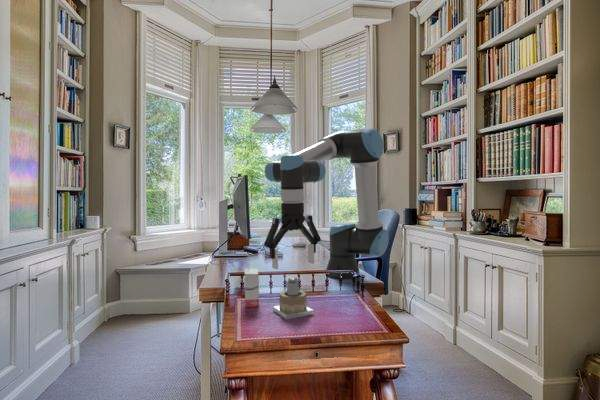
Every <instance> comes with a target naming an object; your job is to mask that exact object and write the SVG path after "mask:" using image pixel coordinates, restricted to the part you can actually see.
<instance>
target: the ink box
mask: <svg viewBox="0 0 600 400" xmlns="http://www.w3.org/2000/svg"><path fill="white" fill-rule="evenodd" d="M259 284H260V279H259V268H245V269H244V305H245V308H257V307H258V306H259V307H260V305H259V303H260V302H259V301H260V300H259V299H260V290H259V289H260V287H259V286H260V285H259Z"/></svg>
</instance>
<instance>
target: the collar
mask: <svg viewBox="0 0 600 400" xmlns="http://www.w3.org/2000/svg"><path fill="white" fill-rule="evenodd" d="M307 296H308V295H307V292H305V291H303V290H300V289H299V296H287V290H282V291H281V292H280V293H279V299H278V300H279V301H278V302H279V305H280V309H281V310H282V311H284V312H292V313H296V312H301V311H304V310H305V309H306V308H307V307H308V306H307V304H308V303H307V301H308V299H307ZM279 305H278V306H279Z"/></svg>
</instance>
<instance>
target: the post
mask: <svg viewBox="0 0 600 400" xmlns="http://www.w3.org/2000/svg"><path fill="white" fill-rule="evenodd" d="M299 290H300V281H299V280H298V278H297V277H289V278H288V279H287V281H286V291H287V296H299ZM272 311H273V312H274V313H275V314H277V315H278V316H280V317H282V318H283V319H285V321H287V320H292V319H297V318H302V317H303V318H304V317H308V316H313V315H315V314H314V313H315V312H314V309H313V308H310V307H308V306H307V308H306V309H305V310H304V311H301V312H296V313H292V312H284V311H282V310H281V309H280V305H275V306H272Z"/></svg>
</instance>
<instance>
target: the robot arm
mask: <svg viewBox="0 0 600 400" xmlns="http://www.w3.org/2000/svg"><path fill="white" fill-rule="evenodd" d="M383 154H384V140H383V137H382V135H381V133H380V132H379V131H378V130H377V129H375V128H361V129H358V128H357V129H344V130H339V131H336V132H334V133H332V134H328V135H327V136H325V137H322V138H321V139H319V141H318V142H317V143H316V144H313V145H311V146H309V147H307V148H304V149H303V150H301V151H299V152H295V153H294V154H283V155H282V156H281V157H280V160H273V161H269V162H267V163H266V165H265V167H264V174H265V175H264V176H265V178H266V179H267V181H269V182H276V183H280V201H281V203H280V213H281V217H280V218H277V217H273V218H272V223H271V225H270V228H269V231H268V234H267V236H266V239H265V240H264V243H263V247H265V248H267V249H269V258H270V259H271V261H272V263H271V264H272V265H271V266H272V268H273V269H275V270H279V255H278V252H279V251H278V248H277V246H278V245H279V244H280V242H281V240H282V239H283V238H284V236H285V235H286V234H287V233H288V232H291V231H292V232H293V231H298V230H299V231H300V232H301V233H302V235H303V236H304V237H305V238H306V239H307V241H308V242H309V243H307V262H308V263H309V264H315V254H316V252H317V244H318V242H321V241H322V239H321V236H320V234H319V232H318V230H317V228H316V225H315V223H314V221H313V215H311V214H306V215H304V214H305V203H304V202H303V201H304V200H305V196H304V195H305V193H304V192H305V190H304V188H305V187H304V184H307V183H313V184H314V183H316V182H321V181H322V180H323V179H324V178H325V177H326V172H327V171H326V166H325V164H324V163H323V162H325V161H331V160H333V159H344V158H346V159H349V160H350V164H351V165H352V166H353V168H354V176H355V190H356V205H357V207H356V208H357V217H358V222H357V223H352V222H351V223H350V222H349V223H340V224H334V225H333V224H332V225H331V226H330V228H329V260H328V262H327V264H326V265H327V266H326V268H325V271H326V270H353V271H354V272H356V273H357V274H359V275H360V269H359V265H358V261H357V258H356V257H357V256H356V254H357V255H362V256H363V255H364V256H368V257H369V256H370V257H380V256H383V255H384V254H385V252H386V251H387V248H388V244H389V243H390V242H389V239H390V235H389V234H390V233H389V231H388V230H386V229H384V227H383V226H384V225H383V223H382V221H381V220H380V219H379V217H380V216H379V215H380V214H379V200H378V187H377V172H376V164H378V162H379V160H380V159H379V158H380V157H382V155H383ZM304 222H306V225H307V227H308V229H309V230H308V229H307V227H306V226H305V225H304ZM281 224H282V225H281ZM279 225H281V226H280V228H279ZM278 229H279V230H278ZM309 231H310V232H309ZM341 276H342V278H340V273H329V274H328V276H327V277H330V278H334V279H344V280H345V279H353V274H352V273H351V272H349V273H342V274H341Z"/></svg>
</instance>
